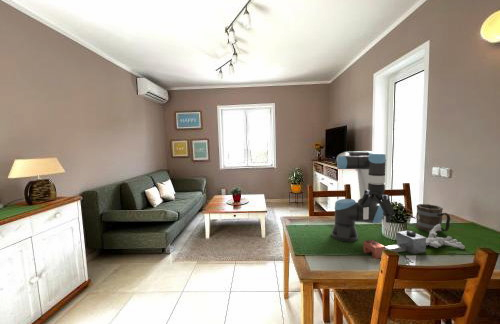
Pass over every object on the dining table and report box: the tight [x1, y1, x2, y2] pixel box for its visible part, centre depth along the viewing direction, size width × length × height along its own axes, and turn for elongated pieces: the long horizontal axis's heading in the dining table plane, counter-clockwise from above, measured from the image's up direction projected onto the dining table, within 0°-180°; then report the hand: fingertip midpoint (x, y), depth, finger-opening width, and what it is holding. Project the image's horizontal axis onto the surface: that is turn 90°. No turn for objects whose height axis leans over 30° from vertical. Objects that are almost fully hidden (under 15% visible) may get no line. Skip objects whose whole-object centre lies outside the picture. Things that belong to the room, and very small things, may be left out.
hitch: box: [384, 230, 427, 255], centre depth 118 cm, size 20×10×10 cm, turn 102°
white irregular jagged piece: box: [426, 224, 466, 250], centre depth 125 cm, size 19×8×20 cm
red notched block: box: [362, 239, 385, 260], centre depth 114 cm, size 6×8×6 cm
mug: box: [415, 203, 451, 233], centre depth 143 cm, size 20×14×15 cm
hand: (375, 223), depth 113 cm, fingers open, 13 cm apart
